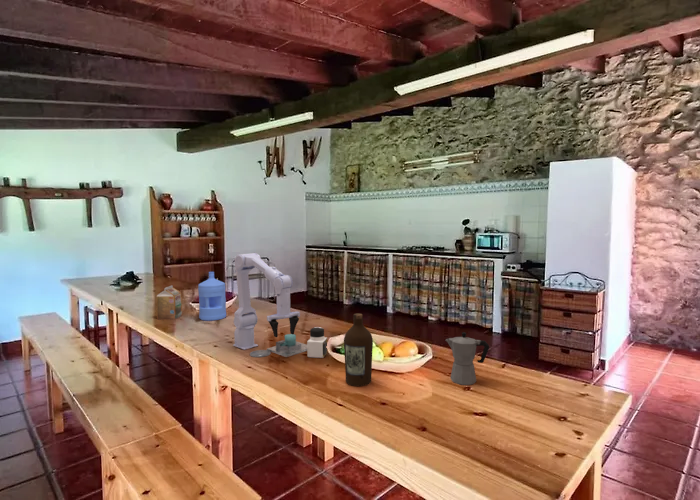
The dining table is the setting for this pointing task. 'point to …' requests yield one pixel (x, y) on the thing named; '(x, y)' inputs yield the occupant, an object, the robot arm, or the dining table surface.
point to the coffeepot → (465, 358)
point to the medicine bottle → (317, 343)
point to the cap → (289, 340)
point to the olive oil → (358, 353)
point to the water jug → (212, 299)
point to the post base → (289, 353)
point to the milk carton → (169, 304)
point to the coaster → (260, 353)
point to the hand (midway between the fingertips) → (284, 335)
